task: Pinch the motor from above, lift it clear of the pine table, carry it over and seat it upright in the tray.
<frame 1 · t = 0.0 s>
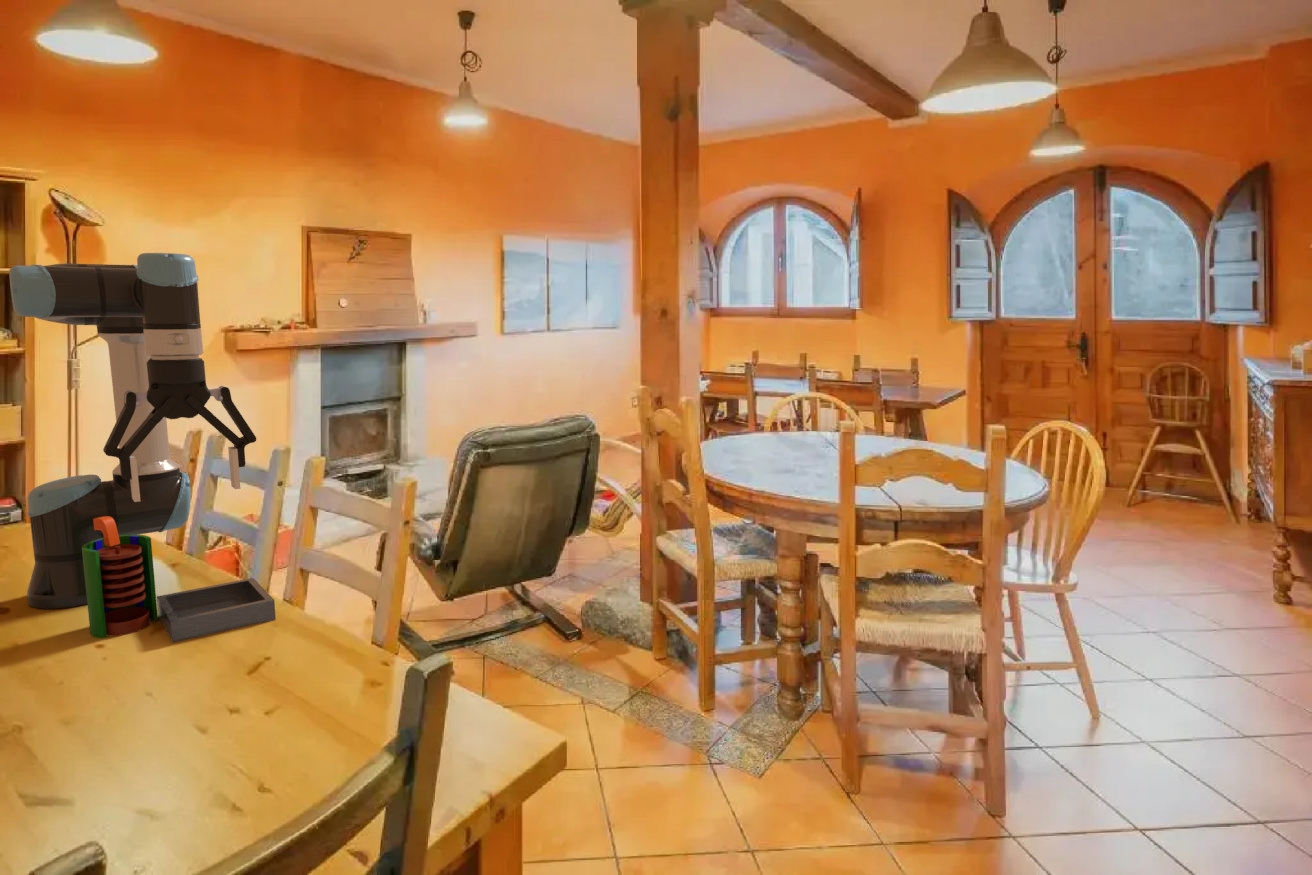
hand: (187, 493, 123), 28 cm above the table, fingers open, 13 cm apart
motor: (122, 627, 142), on the table
tray: (216, 617, 146), on the table
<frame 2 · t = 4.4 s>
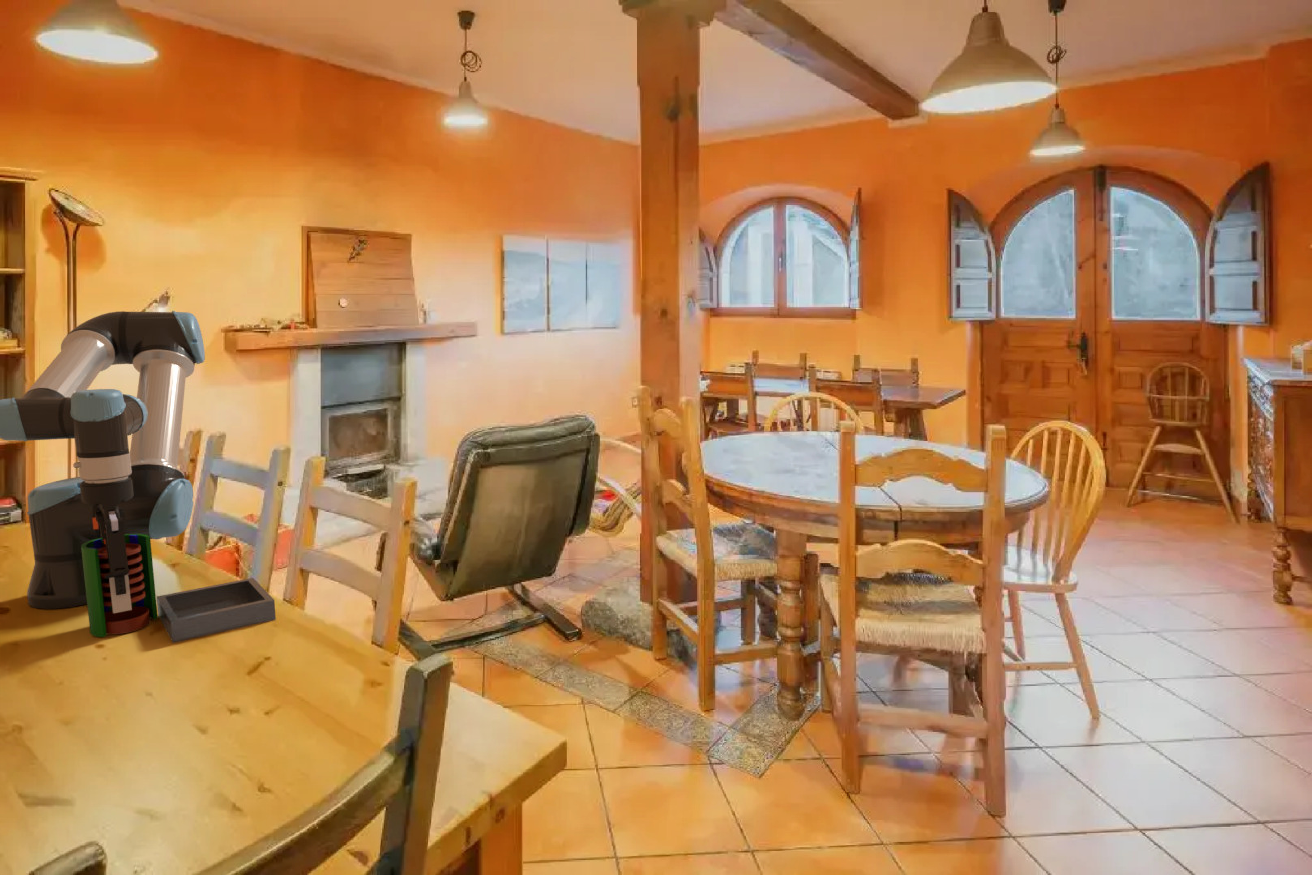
hand: (119, 604, 141), 4 cm above the table, fingers closed on motor, 7 cm apart
motor: (122, 627, 142), on the table, touching gripper
when the fingers open (6 cm above the table, at t = 10.2 s): motor drops 1 cm, resting on tray.
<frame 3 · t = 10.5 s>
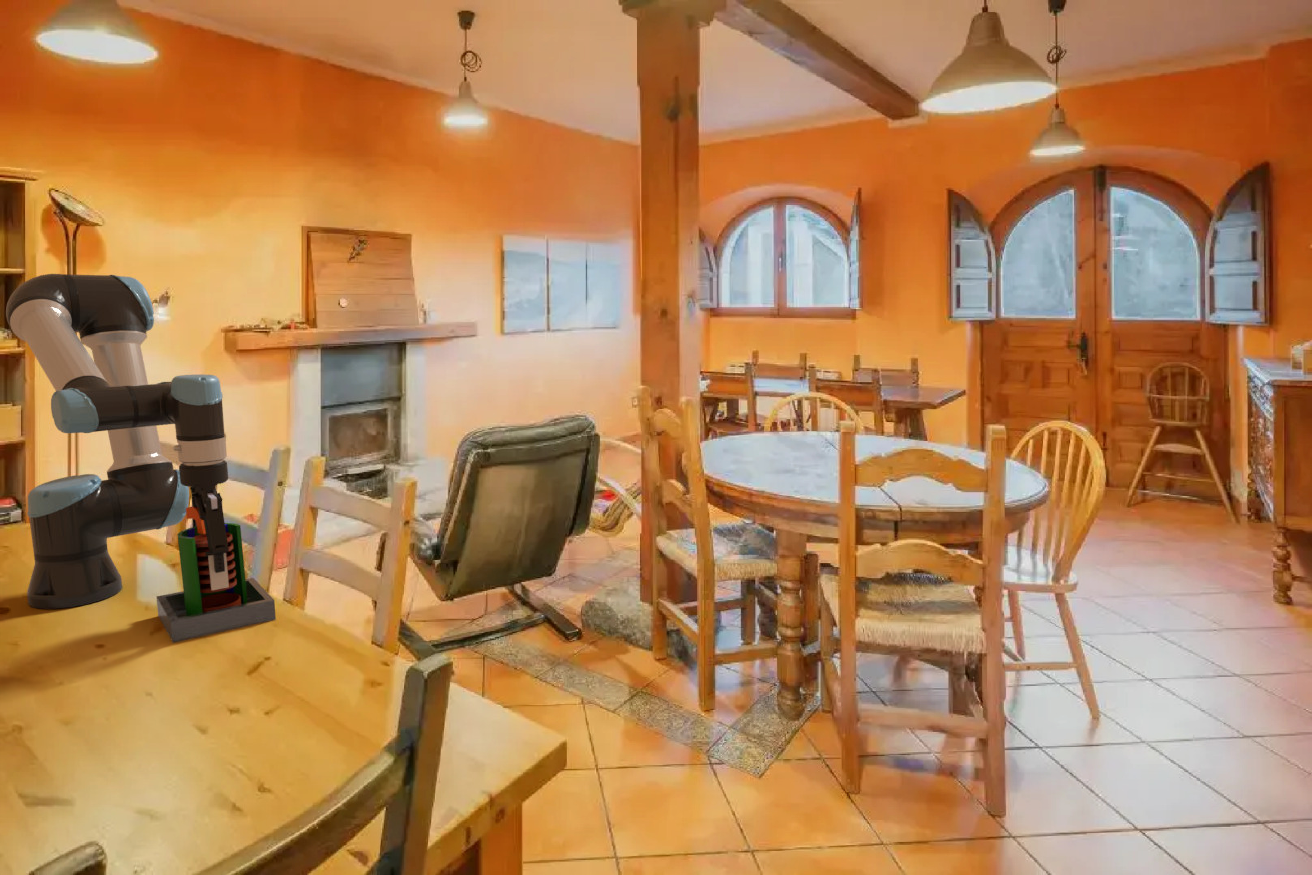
hand: (213, 580, 145), 7 cm above the table, fingers open, 10 cm apart
motor: (215, 613, 146), point 1 cm above the table, touching tray
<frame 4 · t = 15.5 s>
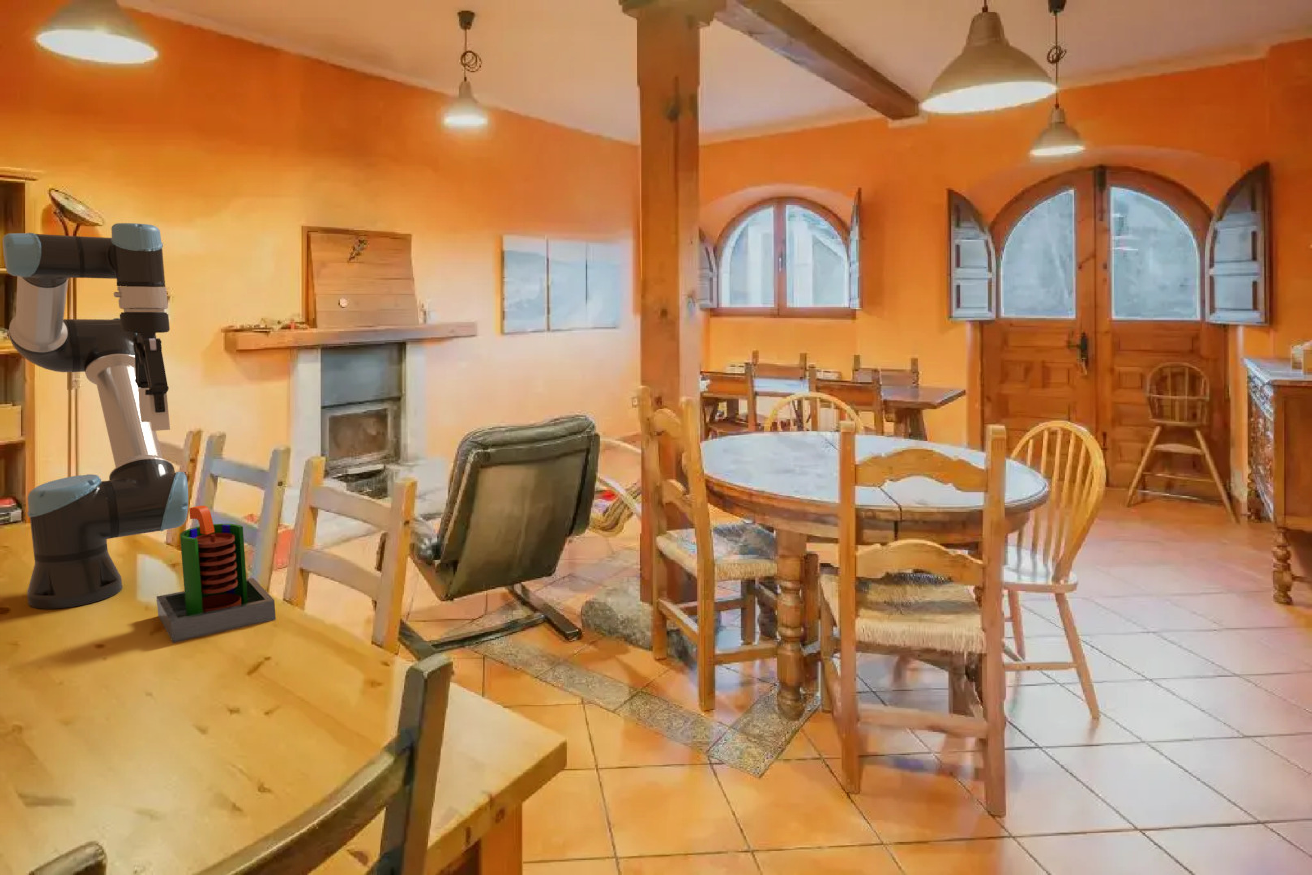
hand: (155, 425, 148), 35 cm above the table, fingers open, 13 cm apart
nothing on the table moved.
at the end: motor 0.6 cm off-centre on the tray, point 0.6 cm above the tray's base; motor tilted 0°; the gripper is holding nothing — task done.
